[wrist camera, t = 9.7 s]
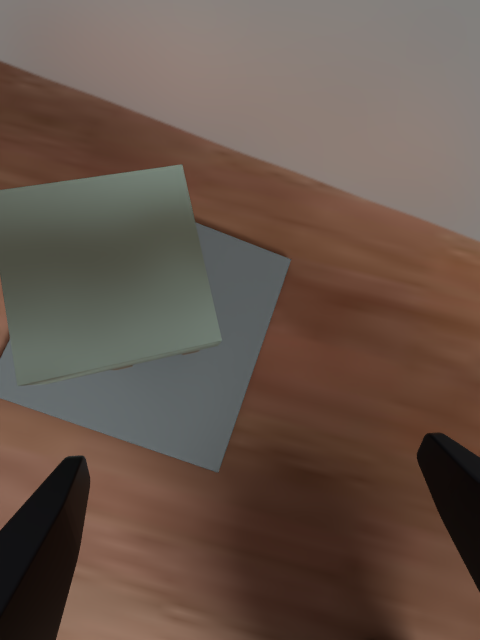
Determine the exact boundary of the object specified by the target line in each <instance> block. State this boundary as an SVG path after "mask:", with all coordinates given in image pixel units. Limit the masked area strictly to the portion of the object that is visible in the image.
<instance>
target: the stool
mask: <svg viewBox="0 0 480 640" xmlns="http://www.w3.org/2000/svg"><path fill="white" fill-rule="evenodd" d="M0 276H1V282H2V289H3V295H4V302H5V308H6V315H7V321H8V328H9V335H10V341H11V348H12V354H13V361H14V367H15V374H16V380H17V386H24V385H41V384H49V383H54V382H58V381H63V380H67V379H72V378H76V377H80V376H85V375H89V374H94V373H98V372H103V371H107V370H119V369H124V368H128V367H133V365H134V364H139V363H143V362H147V361H152V360H156V359H161V358H165V357H170V356H174V355H179V354H182V355H186V354H191V353H195V352H199V350H201V349H206V348H210V347H214V346H218V345H219V344H220V342H221V341H222V338H221V334H220V329H219V325H218V320H217V316H216V312H215V307H214V303H213V298H212V294H211V290H210V285H209V281H208V276H207V272H206V268H205V263H204V259H203V254H202V250H201V245H200V241H199V237H198V232H197V228H196V223H195V219H194V215H193V210H192V206H191V201H190V197H189V193H188V188H187V184H186V179H185V175H184V171H183V166H182V165H174V166H167V167H160V168H153V169H146V170H139V171H132V172H125V173H118V174H111V175H104V176H97V177H90V178H83V179H76V180H69V181H61V182H54V183H47V184H40V185H33V186H26V187H19V188H12V189H5V190H0Z"/></svg>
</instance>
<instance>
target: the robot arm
mask: <svg viewBox="0 0 480 640" xmlns="http://www.w3.org/2000/svg"><path fill="white" fill-rule="evenodd" d="M417 460H418V464H419V466H420V469H421V471H422V473H423V476H424V478H425V481H426V483H427V486H428V488H429V490H430V493H431V495H432V498H433V500H434V503H435V505H436V507H437V510H438V512H439V514H440V516H441V519H442V521H443V523H444V525H445V527H446V529H447V530H448V532H449V534H450V536H451V538H452V540H453V542H454V544H455V546H456V548H457V550H458V552H459V553H460V555H461V557H462V559H463V561H464V563H465V565H466V567H467V569H468V571H469V573H470V575H471V577H472V578H473V580H474V582H475V584H476V586H477V588H478V590H479V592H480V457H478V456H477V455H475V454H474V453H472V452H471V451H469V450H468V449H466V448H465V447H463V446H462V445H460V444H459V443H457V442H455V441H454V440H452V439H451V438H449V437H448V436H446V435H445V434H443V433H427V434H426V435H425V436H424V438H423V440H422V443H421V445H420V447H419V450H418V452H417ZM89 489H90V475H89V471H88V467H87V462H86V459H85V457H84V456H69V457H66V458H65V459H64V460H63V461H62V462H61V463H60V464H59V465H58V466H57V467H56V468H55V470H54V471H53V472H52V473H51V474H50V475H49V476H48V477H47V479H46V480H45V481H44V482H43V483H42V484H41V485H40V486H39V488H38V489H37V490H36V491H35V492H34V493H33V494H32V495H31V497H30V498H29V499H28V500H27V501H26V502H25V503H24V504H23V506H22V507H21V508H20V509H19V510H18V511H17V512H16V513H15V515H14V516H13V517H12V518H11V519H10V520H9V521H8V522H7V524H6V525H5V526H4V527H3V528H2V529H1V530H0V640H56V637H57V633H58V630H59V626H60V622H61V619H62V615H63V611H64V608H65V604H66V600H67V597H68V593H69V589H70V585H71V582H72V578H73V574H74V571H75V567H76V563H77V559H78V555H79V550H80V545H81V539H82V532H83V526H84V520H85V514H86V508H87V501H88V495H89Z"/></svg>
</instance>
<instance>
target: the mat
mask: <svg viewBox="0 0 480 640" xmlns="http://www.w3.org/2000/svg"><path fill="white" fill-rule="evenodd" d="M195 223H196V222H195ZM196 228H197V232H198V237H199V241H200V245H201V250H202V254H203V259H204V263H205V268H206V272H207V276H208V281H209V285H210V290H211V294H212V298H213V303H214V307H215V312H216V316H217V320H218V325H219V329H220V334H221V338H222V341H221V342H220V344H219V345H218V346H214V347H210V348H206V349H201V350H199V352H195V353H191V354H186V355H182V354H179V355H174V356H170V357H165V358H161V359H156V360H152V361H147V362H143V363H139V364H134V365H133V367H128V368H124V369H119V370H107V371H103V372H98V373H94V374H89V375H85V376H80V377H76V378H72V379H67V380H63V381H58V382H54V383H49V384H41V385H24V386H17V380H16V374H15V367H14V361H13V354H12V348H11V341H10V340H9V342H8V344H7V346H6V348H5V350H4V352H3V354H2V356H1V358H0V398H1V399H4V400H7V401H10V402H13V403H16V404H19V405H22V406H25V407H28V408H31V409H34V410H36V411H39V412H42V413H45V414H48V415H51V416H54V417H57V418H60V419H63V420H66V421H69V422H72V423H74V424H77V425H80V426H83V427H86V428H89V429H92V430H95V431H98V432H101V433H104V434H107V435H109V436H112V437H115V438H118V439H121V440H124V441H127V442H130V443H133V444H136V445H139V446H142V447H145V448H147V449H150V450H153V451H156V452H159V453H162V454H165V455H168V456H171V457H174V458H177V459H180V460H182V461H185V462H188V463H191V464H194V465H197V466H200V467H203V468H206V469H209V470H212V471H215V472H219V469H220V466H221V463H222V460H223V457H224V454H225V451H226V448H227V445H228V442H229V440H230V437H231V434H232V431H233V428H234V425H235V422H236V419H237V416H238V413H239V410H240V407H241V404H242V402H243V399H244V396H245V393H246V390H247V387H248V384H249V381H250V378H251V375H252V372H253V369H254V366H255V364H256V361H257V358H258V355H259V352H260V349H261V346H262V343H263V340H264V337H265V334H266V331H267V328H268V326H269V323H270V320H271V317H272V314H273V311H274V308H275V305H276V302H277V299H278V296H279V293H280V290H281V288H282V285H283V282H284V279H285V276H286V273H287V270H288V267H289V264H290V261H291V259H289V258H286V257H284V256H281V255H278V254H276V253H273V252H271V251H268V250H266V249H263V248H260V247H258V246H255V245H253V244H250V243H247V242H245V241H242V240H240V239H237V238H235V237H232V236H229V235H227V234H224V233H222V232H219V231H217V230H214V229H211V228H209V227H206V226H204V225H201V224H199V223H196Z"/></svg>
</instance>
